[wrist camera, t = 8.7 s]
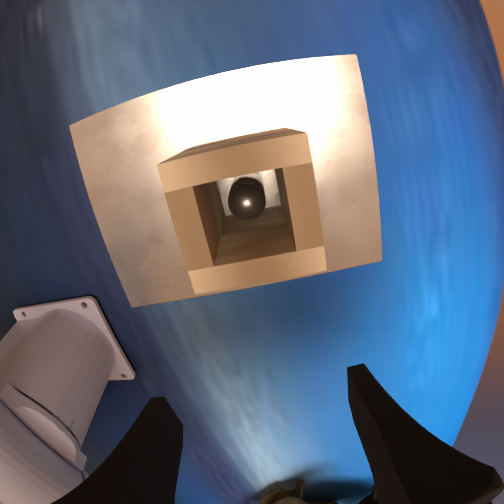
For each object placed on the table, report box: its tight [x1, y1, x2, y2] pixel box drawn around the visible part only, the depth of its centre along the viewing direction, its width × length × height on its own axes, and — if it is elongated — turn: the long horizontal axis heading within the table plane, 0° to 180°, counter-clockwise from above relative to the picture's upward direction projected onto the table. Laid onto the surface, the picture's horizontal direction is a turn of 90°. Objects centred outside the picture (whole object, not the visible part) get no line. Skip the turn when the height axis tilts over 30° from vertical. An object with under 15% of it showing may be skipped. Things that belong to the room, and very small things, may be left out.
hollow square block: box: [157, 127, 327, 294], centre depth 13 cm, size 5×5×6 cm
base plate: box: [70, 54, 382, 307], centre depth 15 cm, size 16×12×5 cm
